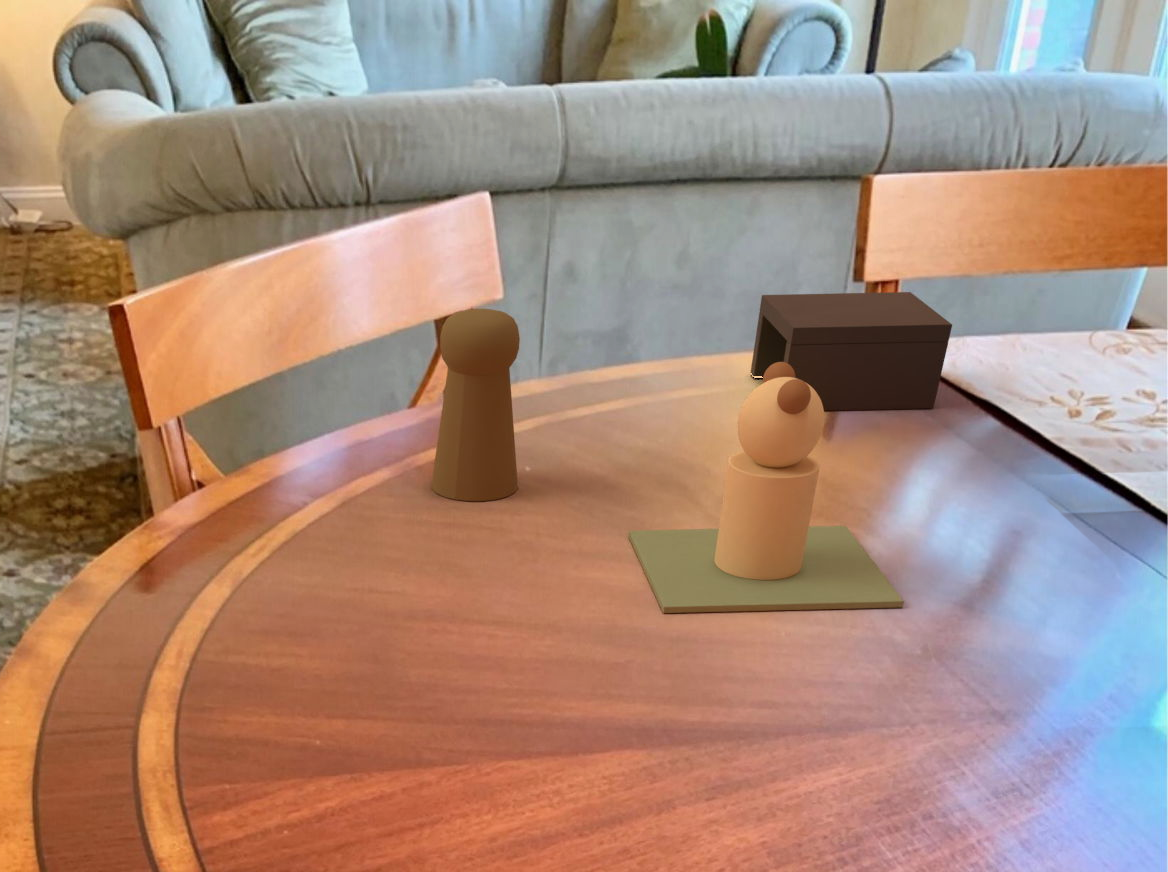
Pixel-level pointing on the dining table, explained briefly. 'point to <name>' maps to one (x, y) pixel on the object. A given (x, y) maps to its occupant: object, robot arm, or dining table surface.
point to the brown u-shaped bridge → (856, 347)
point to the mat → (824, 581)
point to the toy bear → (771, 479)
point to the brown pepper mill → (477, 407)
